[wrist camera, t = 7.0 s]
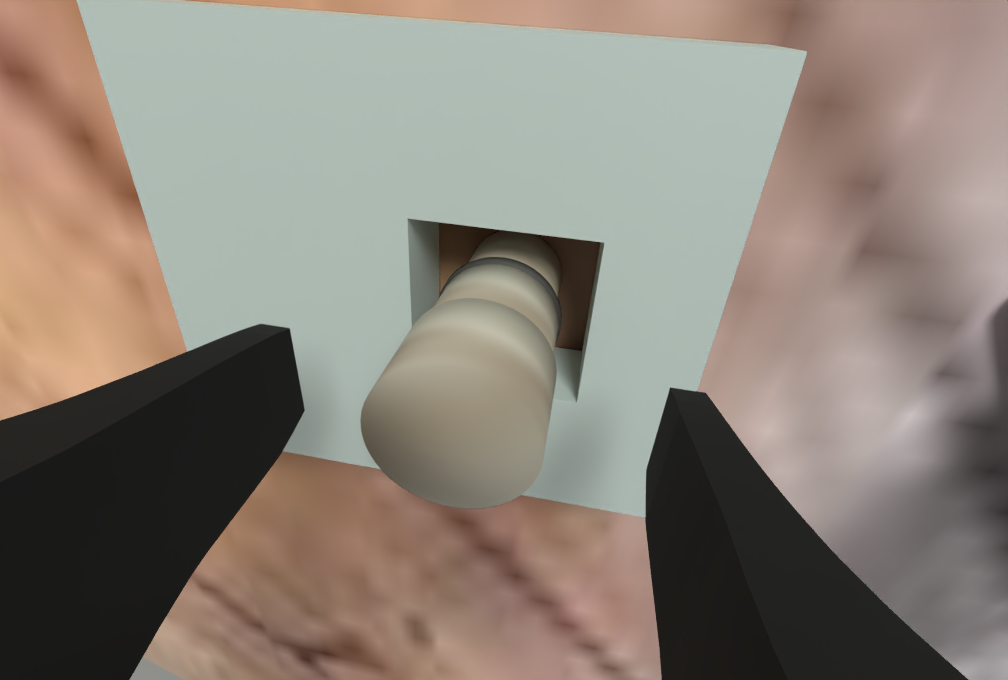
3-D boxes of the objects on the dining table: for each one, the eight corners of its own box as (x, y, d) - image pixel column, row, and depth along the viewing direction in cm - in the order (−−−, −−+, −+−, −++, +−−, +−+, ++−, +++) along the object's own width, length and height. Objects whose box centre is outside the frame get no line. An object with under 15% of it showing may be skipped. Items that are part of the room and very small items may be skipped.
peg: (590, 301, 15) (574, 488, 9) (492, 337, 16) (421, 522, 10) (542, 199, 14) (487, 339, 8) (439, 245, 15) (324, 397, 9)
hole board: (770, 44, 11) (806, 51, 9) (650, 458, 17) (655, 519, 15) (164, -2, 13) (75, -5, 11) (258, 392, 19) (215, 438, 17)
